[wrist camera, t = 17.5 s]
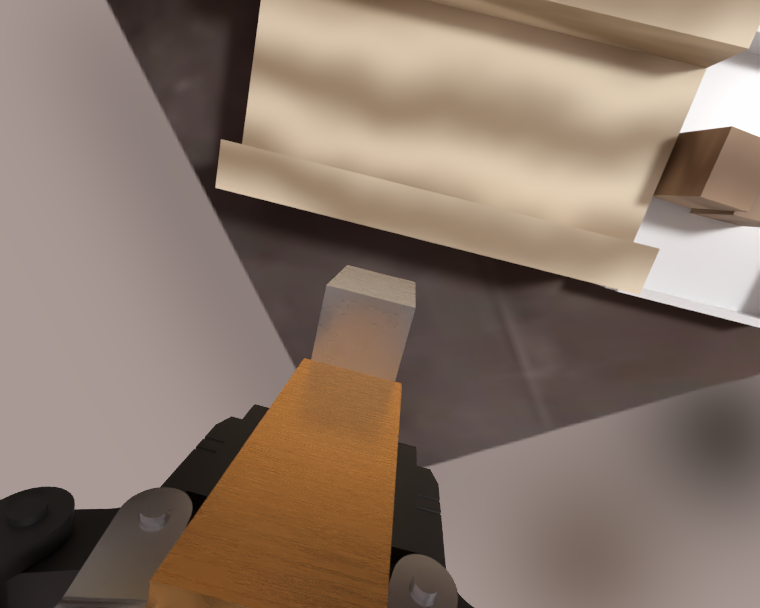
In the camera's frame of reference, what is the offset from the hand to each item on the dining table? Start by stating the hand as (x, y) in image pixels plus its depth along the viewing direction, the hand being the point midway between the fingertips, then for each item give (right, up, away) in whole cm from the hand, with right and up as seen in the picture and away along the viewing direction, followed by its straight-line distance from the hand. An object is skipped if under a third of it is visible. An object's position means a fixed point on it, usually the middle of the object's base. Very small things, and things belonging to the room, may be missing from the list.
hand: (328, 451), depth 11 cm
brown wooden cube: (+22, +14, +15) cm, 30 cm away
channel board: (+7, +18, +17) cm, 26 cm away
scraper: (+1, +1, +6) cm, 6 cm away
